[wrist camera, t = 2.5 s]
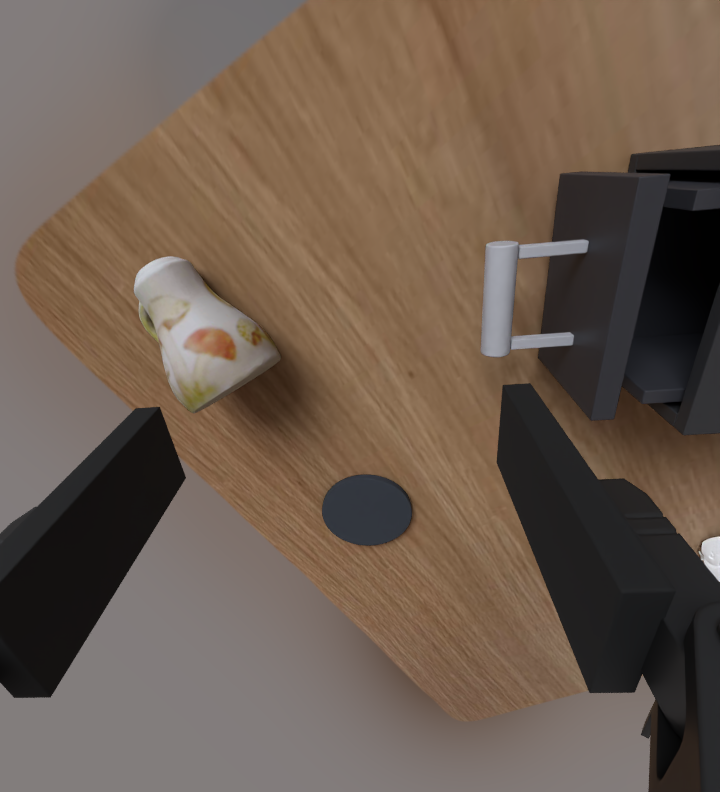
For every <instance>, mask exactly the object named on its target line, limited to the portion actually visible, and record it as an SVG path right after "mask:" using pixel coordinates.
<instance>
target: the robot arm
mask: <svg viewBox="0 0 720 792" xmlns="http://www.w3.org/2000/svg"><path fill="white" fill-rule="evenodd" d="M497 464H498V467H499V469H500V472H501V474H502V477H503V479H504V482H505V484H506V487H507V489H508V492H509V494H510V496H511V499H512V501H513V504H514V506H515V509H516V511H517V514H518V516H519V519H520V521H521V524H522V526H523V529H524V531H525V534H526V536H527V539H528V541H529V544H530V546H531V549H532V551H533V554H534V556H535V559H536V561H537V563H538V566H539V568H540V571H541V573H542V576H543V578H544V581H545V583H546V586H547V588H548V591H549V593H550V596H551V598H552V601H553V603H554V606H555V608H556V611H557V613H558V616H559V618H560V621H561V623H562V626H563V628H564V630H565V633H566V635H567V638H568V640H569V643H570V645H571V648H572V650H573V653H574V655H575V658H576V660H577V663H578V665H579V668H580V670H581V673H582V675H583V678H584V680H585V683H586V685H587V688H588V690H589V692H590V693H623V692H624V693H625V692H627V693H632V692H635V690H636V688H637V685H638V683H639V680H640V678H641V676H642V674H643V676H644V678H645V680H646V682H647V684H648V685H649V687H650V689H651V691H652V693H653V695H654V697H655V702H654V704H653V706H652V708H651V710H650V713H649V715H648V717H647V719H646V721H645V724H644V727H643V730H642V733H641V735H642V736H645V737H646V738H649V737H650V735H651V738H650V768H649V792H720V582H719V581H718V580H717V579H716V577H715V576H714V575H713V574H712V573H711V571H710V570H709V569H708V568H707V566H706V565H705V564H704V563H703V562H702V560H701V559H700V558H699V557H698V556H697V554H696V553H695V552H694V551H693V549H692V548H691V547H690V546H689V545H688V543H687V542H686V541H685V540H684V539H683V537H682V536H681V535H680V534H677V533H676V529H675V528H674V526H673V525H672V524H671V523H670V521H669V520H668V519H667V518H666V517H663V513H662V512H661V511H660V509H659V508H658V507H657V506H656V504H655V503H654V502H653V501H652V500H651V498H650V497H649V496H648V495H647V494H646V493H645V492H643V491H642V490H640V489H639V488H637V487H636V486H634V485H633V484H631V483H630V482H628V481H627V480H625V479H602V480H598V479H597V477H596V476H595V474H594V473H593V472H592V470H591V469H590V467H589V466H588V465H587V463H586V462H585V460H584V459H583V457H582V456H581V455H580V453H579V452H578V450H577V449H576V447H575V446H574V445H573V443H572V442H571V440H570V439H569V438H568V436H567V435H566V433H565V432H564V430H563V429H562V428H561V426H560V425H559V423H558V422H557V421H556V419H555V418H554V416H553V415H552V413H551V412H550V411H549V409H548V408H547V406H546V405H545V404H544V402H543V401H542V399H541V398H540V396H539V395H538V394H537V392H536V391H535V389H534V388H533V386H532V385H531V384H530V383H529V384H513V385H503V389H502V402H501V415H500V427H499V440H498V452H497ZM185 478H186V477H185V474H184V471H183V469H182V466H181V463H180V461H179V458H178V455H177V452H176V450H175V447H174V444H173V442H172V439H171V436H170V433H169V431H168V428H167V425H166V423H165V420H164V417H163V415H162V412H161V409H160V407H151V408H136V409H135V410H134V411H133V412H132V413H131V414H130V415H129V416H128V417H127V418H126V419H125V420H124V421H123V422H122V423H121V424H120V425H119V426H118V427H117V428H116V429H115V430H114V431H113V432H112V433H111V434H110V435H109V436H108V437H107V438H106V439H105V440H104V441H103V442H102V443H101V444H100V445H99V446H98V447H97V448H96V449H95V450H94V451H93V452H92V453H91V454H90V455H89V456H88V457H87V458H86V459H85V460H84V461H83V462H82V463H81V464H80V465H79V466H78V467H77V468H76V469H75V470H74V471H73V472H72V473H71V474H70V475H69V476H68V477H67V478H66V479H65V480H64V481H63V482H62V483H61V484H60V485H59V486H58V487H57V488H56V489H55V490H54V491H53V492H52V493H51V494H50V495H49V496H48V497H47V498H46V499H45V500H44V501H43V502H42V503H41V504H40V505H39V506H38V507H34V508H33V509H31V510H30V511H28V512H27V513H25V514H24V515H22V516H21V517H19V518H18V519H17V520H15V521H13V522H12V523H11V524H10V525H9V526H8V527H7V528H6V529H5V530H4V531H3V532H1V534H0V683H1V684H2V685H3V686H4V687H5V688H6V689H7V690H8V691H9V692H10V694H11V695H13V697H14V698H28V697H30V698H32V697H33V698H35V697H51V696H52V694H53V692H54V691H55V689H56V688H57V686H58V684H59V683H60V681H61V679H62V678H63V676H64V674H65V673H66V671H67V670H68V668H69V667H70V665H71V663H72V662H73V660H74V658H75V657H76V655H77V653H78V652H79V650H80V649H81V647H82V645H83V644H84V642H85V641H86V639H87V637H88V636H89V634H90V632H91V631H92V629H93V628H94V626H95V624H96V623H97V621H98V619H99V618H100V616H101V615H102V613H103V611H104V610H105V608H106V606H107V605H108V603H109V602H110V600H111V598H112V597H113V595H114V594H115V592H116V590H117V588H118V587H119V585H120V584H121V582H122V580H123V579H124V577H125V576H126V574H127V572H128V571H129V569H130V568H131V566H132V564H133V563H134V561H135V559H136V558H137V556H138V555H139V553H140V551H141V550H142V548H143V546H144V545H145V543H146V542H147V540H148V538H149V537H150V535H151V534H152V532H153V530H154V529H155V527H156V525H157V524H158V522H159V520H160V519H161V517H162V516H163V514H164V512H165V511H166V509H167V507H168V506H169V504H170V503H171V501H172V499H173V498H174V496H175V495H176V493H177V491H178V490H179V488H180V487H181V485H182V483H183V482H184V480H185Z"/></svg>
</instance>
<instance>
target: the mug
mask: <svg viewBox="0 0 720 792" xmlns="http://www.w3.org/2000/svg"><path fill="white" fill-rule="evenodd" d="M134 293H135V295H136V297H137V298H138V300H139V301H140V302H139V316H140V320H141V322H142V324H143V326H144V328H145V329H146V330H147V332H148V333H149V334H150V335H151V336H152V337H153V338H154V339H155V340H156V341H157V342H158V343H159V346H160V350H161V355H162V359H163V364H164V368H165V371H166V375H167V379H168V382H169V384H170V387H171V389H172V391H173V393H174V394H175V396H176V397H177V399H178V400H179V401H180V402H181V403H182V404H183V405H184V407H185V408H186V409H187V410H189V411H190V412H192V413H196V412H198V411H200V410H202V409H204V408H206V407H208V406H210V405H211V404H213V403H215V402H217V401H218V400H220V399H222V398H223V397H225V396H227V395H228V394H230V393H232V392H233V391H235V390H237V389H238V388H240V387H241V386H243V385H245V384H246V383H248V382H249V381H251V380H253V379H254V378H256V377H257V376H259V375H260V374H262V373H264V372H265V371H266V370H268V369H269V368H271V367H272V366H274V365H275V364H276V363H277V362H279V361H280V359H281V355H280V353H279V352H278V350H277V348H276V346H275V344H274V342H273V341H272V339H271V338H270V336H269V335H268V334H267V333H266V332H265V331H264V330H263V329H262V328H261V327H260V326H259V325H258V324H257V323H256V322H254V321H253V320H252V319H250V318H249V317H247V316H246V315H245V314H243V313H242V312H240V311H239V310H237V309H236V308H235V307H233V306H232V305H230V304H229V303H227V302H226V301H224V300H223V299H221V298H220V297H219V296H218V295H217V294H215V293H214V292H213V291H212V290H211V289H210V288H209V287H208V285H207V284H206V283H205V282H204V280H203V279H202V278H201V276H200V275H199V274H198V272H197V271H196V270H195V268H194V267H193V265H192V264H191V263H190V262H189V261H188V260H184V259H181V258H178V257H163V258H159V259H156V260H154V261H152V262H151V263H149V264H147V265H146V266H144V267H143V268H142V269H141V270H140V271H139V272H138V274H137V276H136V279H135V286H134Z"/></svg>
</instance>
